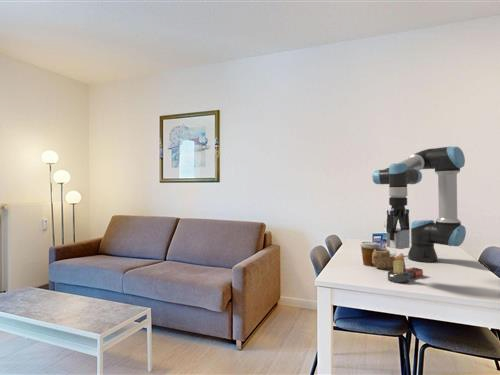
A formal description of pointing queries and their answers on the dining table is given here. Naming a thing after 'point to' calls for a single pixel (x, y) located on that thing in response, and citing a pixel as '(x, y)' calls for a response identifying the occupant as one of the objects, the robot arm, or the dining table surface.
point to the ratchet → (403, 273)
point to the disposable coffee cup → (368, 252)
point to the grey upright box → (400, 238)
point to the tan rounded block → (385, 259)
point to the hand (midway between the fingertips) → (398, 246)
